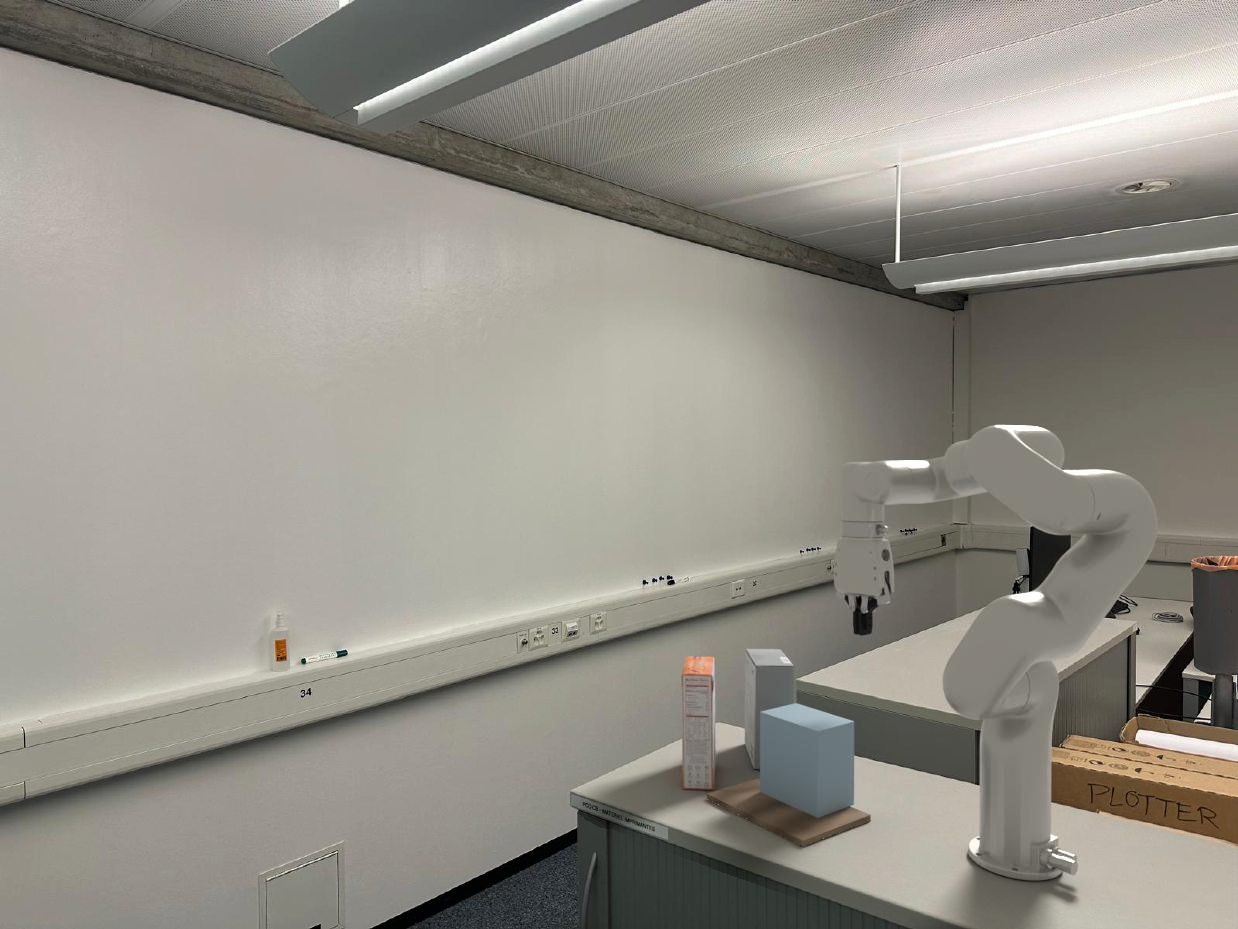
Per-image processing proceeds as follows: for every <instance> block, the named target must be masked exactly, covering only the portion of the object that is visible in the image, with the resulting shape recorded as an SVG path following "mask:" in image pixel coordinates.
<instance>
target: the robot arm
mask: <svg viewBox="0 0 1238 929" xmlns="http://www.w3.org/2000/svg"><path fill="white" fill-rule="evenodd" d="M1064 462H1065V448H1064V446H1063V443H1062V442H1061V440H1060V438H1059V437H1057V435H1056V434H1055V433H1053V432H1052V431H1051V430H1048V429H1046V428H1043V427H1039V426H1034V425H1013V424H1011V425H1010V424H995V425H989V426H987V427H984V428H981V429H979V430H978V431H977V432H975V433H974V434H973V435H972V436H971V437H970V438H969V439H966V440H961V441H957V442H955V443H953V444H951V445H949V447H948V448H947V450H946V451H945V454H944V455H943V456H940V457H935V458H930V459H929V458H928V459H923V460H918V459H917V460H916V459H915V460H912V459H911V460H908V459H907V460H906V459H903V460H899V459H898V460H896V459H895V460H878V461H877V460H876V461H851V462H846V463H844V464H842V466H841V468H840V537H838V538H837V542H836V549H835V553H834V555H835V556H834V564H833V565H834V566H833V567H834V568H833V585H834V588H835V590H836V593H835V596H836V597H837V598H839V599H841V600H843V601H845V602H846V604H847V605H848V606H849V610H850V611H851V612H852V627H853V634H854V635H859V636H862V637H863V636H868V635H871V634H872V632H873V620H874V619H873V613H874V612H876V610H877V608H878V607H879V606H880V605H888V604H890V603H891V595H893V594H894V593H895V587H896V585H895V568H894V559H893V558H894V557H893V553H892V548H891V544H890V541H889V539H885V538H886V534H887V535H888V534H889V533H890V530H891V529H890V527H889V526H888V525H887V526H886V525H885V524H886V522H885V506H886V505H887V506H889V505H891V506H893V505H905V504H906V505H910V504H911V505H912V504H916V505H919V504H929V503H936V502H942V501H947V500H948V501H949V500H954V499H955V500H956V499H959V498H960V499H961V498H967V497H970V496H973V495H979V494H984V493H985V494H986V493H990V495H992V496H993V497H994V498H995V499H997V500H998V501H999V502H1001V503H1002V504H1003V505H1005V506H1006V507H1007V508H1008V509H1010V510H1011V511H1012V512H1013V513H1015V514H1016V515H1018V516H1019V517H1020V518H1021V519H1023V520H1024V521H1025V522H1027V524H1029V525H1031V526H1032V527H1034V528H1036V529H1037V530H1039V531H1042V532H1044V533H1047V534H1050V535H1055V536H1072V535H1073V536H1074V535H1082V536H1081V538H1080V539H1079V540H1078V541H1077V542H1076V543H1075V544H1074V545H1073V546H1071V547H1070V548H1069V549H1068V550H1067V551H1066V552H1065V553H1064V554H1062V555H1061V557H1060V558H1059V559H1058V560H1057V562H1055V565H1054V566H1053V568H1052V569H1051V571H1050V572H1049V574H1048V575H1047V577H1045V579H1044V580H1043V581H1042V583H1041V584H1040V585H1039V586H1038V587H1036V588H1035V589H1033V590H1032V591H1028V592H1021V593H1015V594H1008V595H1004V596H1001V597H998V598H997V599H995V600H993V601H991V602H990V603H989V604H987V605H986V606H985V607H984V608H983V609H981V611H980V612H979V613H978V615H977V616H976V618H975V619H974V621H973V622H972V624H971V625H970V626H969V628H968V630H967V631H966V633H965V634H964V635H963V637H962V639H961V640H960V641H959V643H958V645H957V646H956V648H955V649H954V650H953V652H952V654H951V655H950V657H949V658H948V660H947V662H946V665H945V667H944V669H943V674H942V681H941V682H942V691H943V695H944V698H945V699H946V703H947V704H948V706H950V708H951V709H952V710H953V711H954V712H956V713H957V714H958V715H960V716H962V717H963V718H967V719H969V720H976V721H982V723H981V728H980V737H979V835H978V836H976V837H973V838H972V839H971V840H969V841H968V845H967V853H968V856H969V857H970V858H971V859H972V861H973V862H974V863H975V864H976V865H979V866H980V867H981V868H983V869H984V870H985V869H986V870H987V871H989V872H991V873H995V874H997V875H1000V876H1002V877H1003V876H1004V877H1006V878H1010V879H1011V878H1012V879H1016V880H1024V881H1046V880H1047V881H1048V880H1051V879H1054V878H1057V877H1058V876H1060V875H1061V874H1062V873H1065V874H1069V875H1071V876H1075V875H1076V874H1077V872H1078V868H1079V865H1078V856H1077V855H1076V854H1075V853H1071V852H1068V851H1064V850H1061V847H1059V837H1058V836H1056V835H1053V834H1052V759H1053V758H1052V746H1053V744H1052V743H1053V741H1052V740H1053V727H1054V726H1053V725H1054V719H1055V712H1056V709H1057V703H1058V698H1059V693H1060V692H1059V690H1060V679H1059V678H1060V677H1059V672H1058V670H1057V668H1056V666H1055V663H1054V662H1053V661H1058V660H1062V659H1066V658H1069V657H1072V656H1074V655H1075V654H1077V653H1078V652H1079V651H1080V650H1081V649H1082V648H1083V646H1084V645H1085V644H1086V643H1087V641H1088V640H1089V639H1090V637H1091V635H1092V634H1093V633H1094V632H1095V631H1096V629H1097V628H1098V626H1100V624H1101V623H1102V621H1103V620H1104V618H1106V616H1107V615H1108V614H1109V613H1110V611H1111V609H1112V608H1113V606H1114V605H1115V604H1116V601H1118V599H1119V598H1120V596H1121V595H1122V594H1123V592H1124V591H1125V590H1126V589H1127V588H1128V586H1129V585H1130V584H1131V582H1132V581H1133V580H1134V579H1135V578H1136V577H1137V575H1138V574H1139V572H1140V571H1141V570H1142V569H1143V567H1144V566H1145V564H1146V562H1147V561H1148V560H1149V557H1150V556H1151V553H1152V551H1153V549H1154V547H1155V544H1156V541H1157V536H1158V535H1157V534H1158V526H1159V525H1158V515H1157V510H1156V507H1155V506H1156V505H1155V504H1154V501H1153V499H1152V497H1151V496H1150V494H1149V492H1148V490H1147V489H1146V488H1145V487H1144V485H1142V484H1141V483H1140V482H1139V481H1138V480H1137V479H1136V478H1133V477H1132V476H1131V475H1127V474H1125V473H1122V472H1120V471H1119V472H1118V471H1115V470H1108V469H1078V470H1077V469H1072V470H1071V469H1064V470H1063V469H1061V468H1062V467H1063V465H1064Z"/></svg>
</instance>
